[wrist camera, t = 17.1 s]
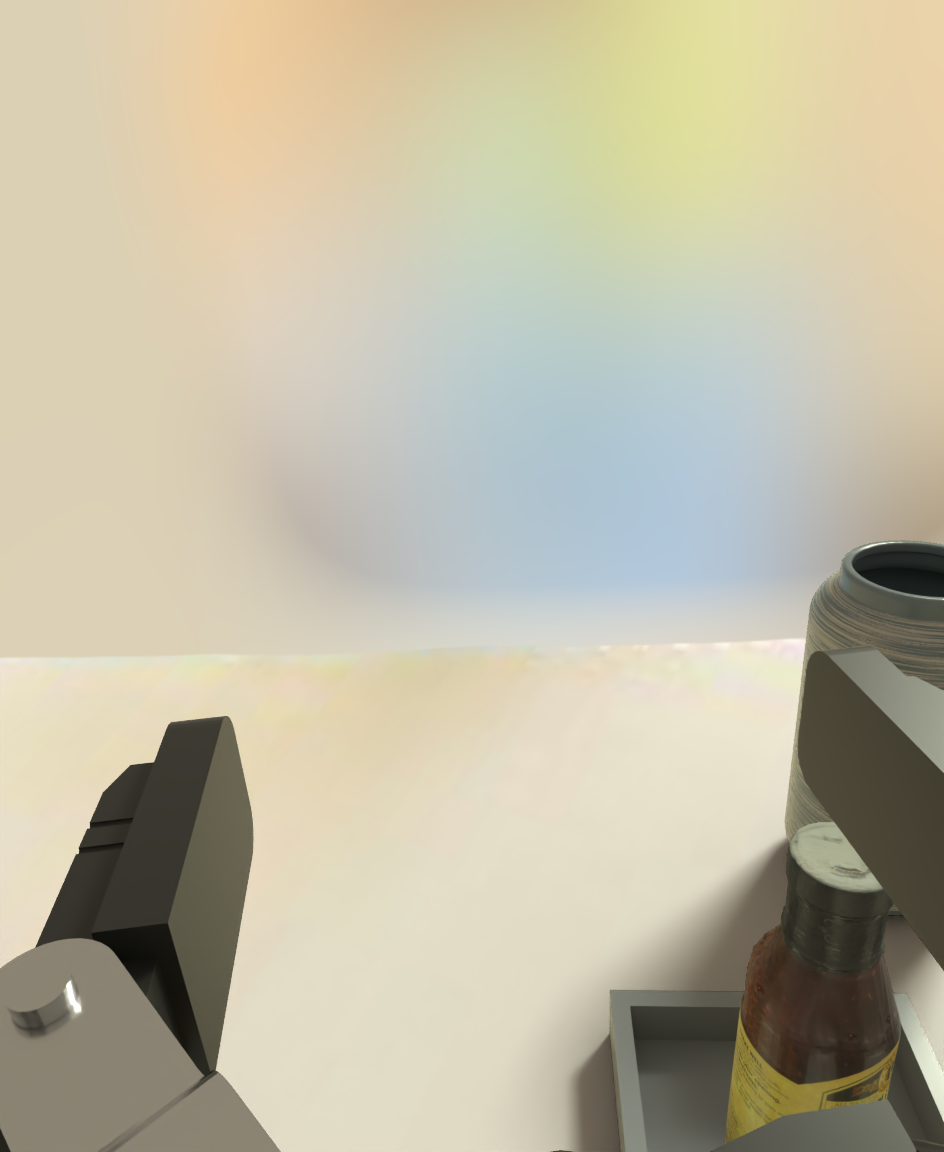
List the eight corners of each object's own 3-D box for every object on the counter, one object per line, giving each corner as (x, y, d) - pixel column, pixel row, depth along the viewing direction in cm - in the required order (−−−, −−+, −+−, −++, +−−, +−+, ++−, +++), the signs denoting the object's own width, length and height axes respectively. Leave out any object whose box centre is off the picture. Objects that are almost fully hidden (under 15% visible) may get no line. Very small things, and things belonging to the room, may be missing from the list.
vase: (748, 866, 60) (777, 570, 51) (833, 791, 67) (873, 517, 57) (915, 966, 52) (987, 636, 42) (994, 869, 59) (1072, 564, 49)
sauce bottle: (826, 1289, 37) (893, 958, 28) (697, 1186, 41) (722, 870, 32) (885, 1170, 41) (958, 851, 33) (762, 1087, 45) (800, 784, 37)
